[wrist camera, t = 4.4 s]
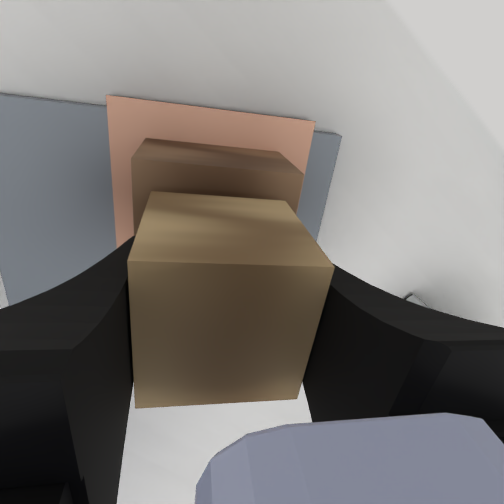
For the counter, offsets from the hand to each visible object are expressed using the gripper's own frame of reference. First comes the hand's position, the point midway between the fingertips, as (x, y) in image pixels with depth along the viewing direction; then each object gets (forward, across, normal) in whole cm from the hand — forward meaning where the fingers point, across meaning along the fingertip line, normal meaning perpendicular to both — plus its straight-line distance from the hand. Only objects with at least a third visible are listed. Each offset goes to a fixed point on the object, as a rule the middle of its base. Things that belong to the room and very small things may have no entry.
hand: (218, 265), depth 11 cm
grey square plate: (+6, +2, +4) cm, 8 cm away
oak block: (+1, 0, 0) cm, 1 cm away
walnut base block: (+6, 0, 0) cm, 6 cm away
